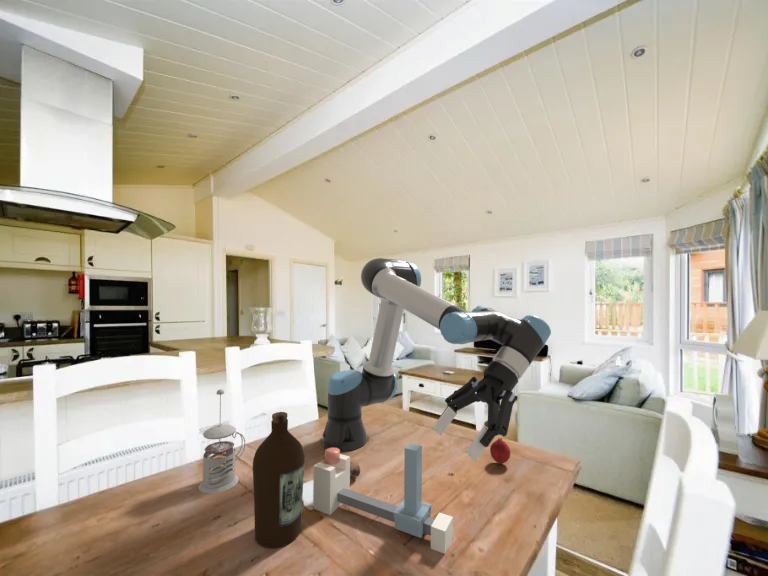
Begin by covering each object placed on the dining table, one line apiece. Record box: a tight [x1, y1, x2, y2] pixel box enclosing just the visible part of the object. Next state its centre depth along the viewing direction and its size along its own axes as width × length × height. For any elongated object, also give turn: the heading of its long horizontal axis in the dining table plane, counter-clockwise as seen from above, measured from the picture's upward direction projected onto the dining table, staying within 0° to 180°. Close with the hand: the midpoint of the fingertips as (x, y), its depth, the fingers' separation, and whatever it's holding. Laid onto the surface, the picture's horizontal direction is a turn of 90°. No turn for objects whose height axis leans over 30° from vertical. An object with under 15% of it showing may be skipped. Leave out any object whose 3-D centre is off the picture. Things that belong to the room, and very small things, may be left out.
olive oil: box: [252, 411, 306, 549], centre depth 73 cm, size 11×11×25 cm
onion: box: [489, 436, 511, 465], centre depth 103 cm, size 6×6×8 cm
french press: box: [197, 389, 246, 495], centre depth 92 cm, size 10×12×25 cm
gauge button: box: [324, 448, 341, 465], centre depth 83 cm, size 4×4×2 cm
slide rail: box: [312, 453, 454, 555], centre depth 77 cm, size 32×8×10 cm, turn 61°
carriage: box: [394, 442, 433, 539], centre depth 73 cm, size 6×6×17 cm
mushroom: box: [350, 457, 361, 478], centre depth 94 cm, size 8×8×6 cm
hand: (451, 443), depth 76 cm, fingers open, 13 cm apart
